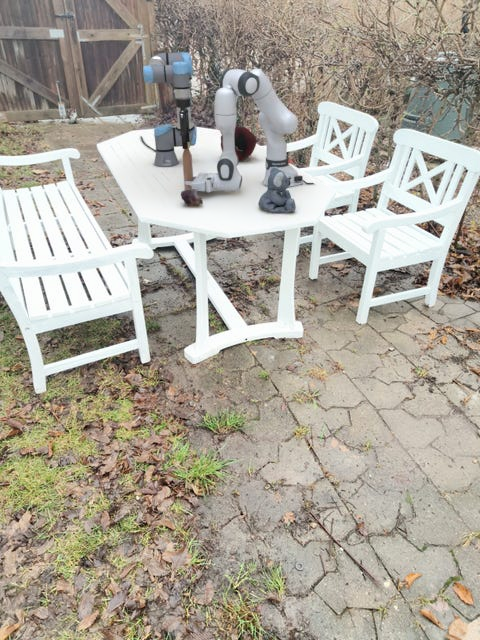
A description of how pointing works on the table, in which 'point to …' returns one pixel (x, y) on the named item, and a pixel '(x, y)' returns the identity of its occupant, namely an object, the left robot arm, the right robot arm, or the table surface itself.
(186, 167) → the bottle
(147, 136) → the table surface
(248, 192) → the table surface
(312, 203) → the table surface
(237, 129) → the decorative skull
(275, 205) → the koala plush
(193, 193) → the rock
